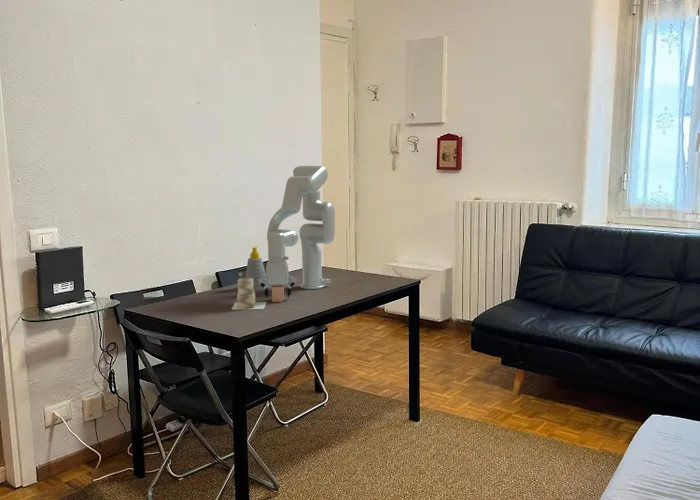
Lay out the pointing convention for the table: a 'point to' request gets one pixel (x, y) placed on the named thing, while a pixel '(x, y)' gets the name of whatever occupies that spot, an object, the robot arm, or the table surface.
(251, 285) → the tower mid
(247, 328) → the table surface
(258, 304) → the mat
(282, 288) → the top block
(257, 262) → the soap bottle
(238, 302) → the tower base
